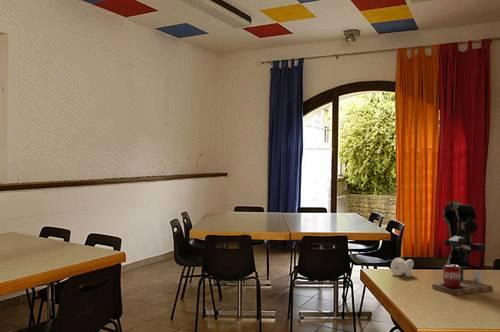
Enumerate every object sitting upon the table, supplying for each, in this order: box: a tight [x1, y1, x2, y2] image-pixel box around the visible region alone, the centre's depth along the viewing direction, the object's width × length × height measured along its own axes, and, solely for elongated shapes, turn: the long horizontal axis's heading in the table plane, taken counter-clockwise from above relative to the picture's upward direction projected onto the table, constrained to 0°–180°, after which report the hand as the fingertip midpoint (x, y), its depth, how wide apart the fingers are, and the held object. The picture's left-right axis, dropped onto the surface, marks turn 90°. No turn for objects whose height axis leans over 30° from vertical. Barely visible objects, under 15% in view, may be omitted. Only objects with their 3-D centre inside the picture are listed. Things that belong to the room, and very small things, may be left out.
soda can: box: [442, 263, 461, 289], centre depth 203 cm, size 7×7×12 cm
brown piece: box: [431, 269, 493, 296], centre depth 206 cm, size 25×13×8 cm, turn 115°
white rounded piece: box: [390, 257, 415, 278], centre depth 233 cm, size 11×12×9 cm
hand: (464, 262), depth 211 cm, fingers closed
